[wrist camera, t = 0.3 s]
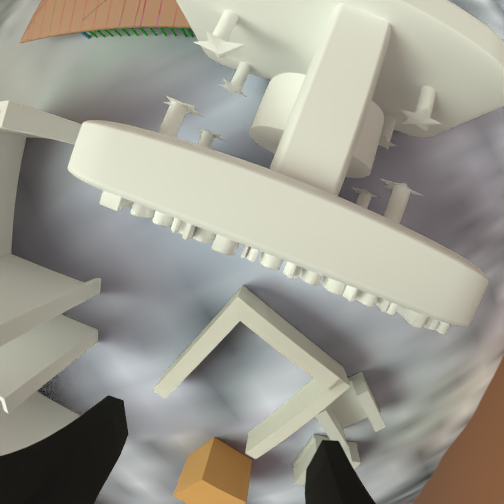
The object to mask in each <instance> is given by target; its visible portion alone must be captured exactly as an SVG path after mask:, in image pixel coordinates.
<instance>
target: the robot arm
mask: <svg viewBox="0 0 504 504" xmlns="http://www.w3.org/2000/svg"><path fill="white" fill-rule="evenodd" d="M127 436H128V429H127V422H126V416H125V409H124V401H123V400H120V399H117V398H115V397H112V396H107V397H105V398H104V399H103V400H101V401H100V402H99V403H97V404H96V405H95V406H93V407H92V408H91V409H89V410H88V411H87V412H85V413H84V414H83V415H81V416H80V417H78V418H77V419H75V420H74V421H72V422H71V423H69V424H68V425H66V426H65V427H63V428H62V429H60V430H58V431H57V432H55V433H53V434H52V435H50V436H48V437H46V438H44V439H42V440H41V441H39V442H36V443H34V444H32V445H30V446H28V447H25V448H23V449H20V450H17V451H15V452H12V453H9V454H6V455H2V456H0V504H94V502H95V500H96V498H97V496H98V494H99V492H100V490H101V489H102V487H103V485H104V483H105V481H106V480H107V478H108V476H109V474H110V473H111V471H112V469H113V467H114V465H115V464H116V462H117V460H118V458H119V456H120V454H121V452H122V449H123V447H124V444H125V441H126V439H127ZM305 500H306V504H376V503H375V502H374V501H373V499H372V498H371V496H370V495H369V493H368V492H367V490H366V489H365V487H364V485H363V484H362V482H361V481H360V479H359V477H358V476H357V474H356V472H355V470H354V469H353V467H352V465H351V463H350V461H349V459H348V458H347V456H346V454H345V452H344V450H343V448H342V446H341V444H340V442H339V441H334V440H322V441H321V443H320V445H319V447H318V449H317V451H316V453H315V454H314V456H313V458H312V460H311V462H310V463H309V465H308V467H307V469H306V481H305Z"/></svg>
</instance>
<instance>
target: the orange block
mask: <svg viewBox="0 0 504 504" xmlns="http://www.w3.org/2000/svg"><path fill="white" fill-rule="evenodd" d="M251 466H252V459H250V458H248V457H247V456H245V455H243V454H242V453H240V452H238V451H236V450H235V449H233V448H232V447H230V446H228V445H227V444H225V443H223V442H222V441H220V440H219V439H217V438H216V437H214V438H212V439H211V440H210V441H208V442H207V443H206V444H204V445H203V446H201V447H200V448H199V449H197V450H196V451H195V452H193V453H192V454H190V455H189V456H188V458H187V460H186V463H185V466H184V468H183V471H182V473H181V476H180V479H179V481H178V484H177V487H176V489H175V492H174V494H173V496H175V497H176V498H178V499H180V500H182V501H184V502H185V503H187V504H245V503H246V502H247V495H248V488H249V481H250V474H251Z"/></svg>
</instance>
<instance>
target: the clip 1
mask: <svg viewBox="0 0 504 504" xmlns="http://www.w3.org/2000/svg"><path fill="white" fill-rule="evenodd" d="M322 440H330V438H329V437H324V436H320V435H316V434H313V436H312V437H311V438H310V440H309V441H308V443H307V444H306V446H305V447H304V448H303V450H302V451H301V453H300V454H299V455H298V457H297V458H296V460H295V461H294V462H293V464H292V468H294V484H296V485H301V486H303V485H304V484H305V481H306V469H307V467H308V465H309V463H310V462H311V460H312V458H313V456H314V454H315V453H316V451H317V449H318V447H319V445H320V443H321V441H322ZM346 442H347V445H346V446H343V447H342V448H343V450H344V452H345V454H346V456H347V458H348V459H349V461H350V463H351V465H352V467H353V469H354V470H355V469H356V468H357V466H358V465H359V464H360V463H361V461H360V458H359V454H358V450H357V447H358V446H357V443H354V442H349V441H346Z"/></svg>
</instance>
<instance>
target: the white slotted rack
mask: <svg viewBox="0 0 504 504" xmlns="http://www.w3.org/2000/svg"><path fill="white" fill-rule="evenodd" d="M81 126H82V124H79V123H77V122H74V121H71V120H68V119H65V118H62V117H59V116H56V115H53V114H50V113H47V112H44V111H41V110H38V109H35V108H32V107H29V106H25V105H22V104H19V103H16V102H12V101H1V102H0V456H2V455H6V454H9V453H12V452H15V451H17V450H20V449H23V448H25V447H28V446H30V445H32V444H34V443H36V442H39V441H41V440H42V439H44V438H46V437H48V436H50V435H52V434H53V433H55V432H57V431H58V430H60V429H62V428H63V427H65V426H66V425H68V424H69V423H71V422H72V421H74V420H75V419H77V418H78V417H80V415H78V414H76V413H75V412H73V411H71V410H69V409H67V408H65V407H63V406H61V405H60V404H58V403H56V402H54V401H53V400H51V399H49V398H47V397H46V396H44V395H42V394H41V393H39V392H37V390H38V389H40V388H41V387H42V386H43V385H44V384H46V383H47V382H48V381H49V380H51V379H52V378H53V377H54V376H56V375H57V374H58V373H59V372H61V371H62V370H63V369H64V368H66V367H67V366H68V365H70V364H71V363H72V362H73V361H75V360H76V359H77V358H78V357H80V356H81V355H82V354H83V353H85V352H86V351H87V350H89V349H90V348H91V347H92V346H94V345H95V344H96V343H98V329H95V328H93V327H90V326H88V325H85V324H83V323H81V322H78V321H76V320H74V319H71V318H69V317H67V316H64V315H62V314H61V313H63V312H65V311H67V310H69V309H71V308H73V307H75V306H77V305H78V304H80V303H82V302H84V301H86V300H88V299H90V298H92V297H94V296H96V295H98V294H100V289H101V279H100V278H98V277H97V278H94V279H92V280H90V281H87V282H85V283H84V282H82V281H79V280H76V279H73V278H71V277H68V276H65V275H63V274H60V273H57V272H55V271H52V270H50V269H47V268H45V267H42V266H40V265H37V264H35V263H32V262H30V261H27V260H25V259H23V258H20V257H18V256H15V255H13V254H11V251H12V231H13V219H14V209H15V200H16V192H17V185H18V179H19V173H20V167H21V161H22V156H23V151H24V147H25V142H26V138H27V137H30V138H48V139H54V140H58V141H62V142H66V143H70V144H75V143H76V140H77V137H78V134H79V131H80V129H81Z"/></svg>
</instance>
